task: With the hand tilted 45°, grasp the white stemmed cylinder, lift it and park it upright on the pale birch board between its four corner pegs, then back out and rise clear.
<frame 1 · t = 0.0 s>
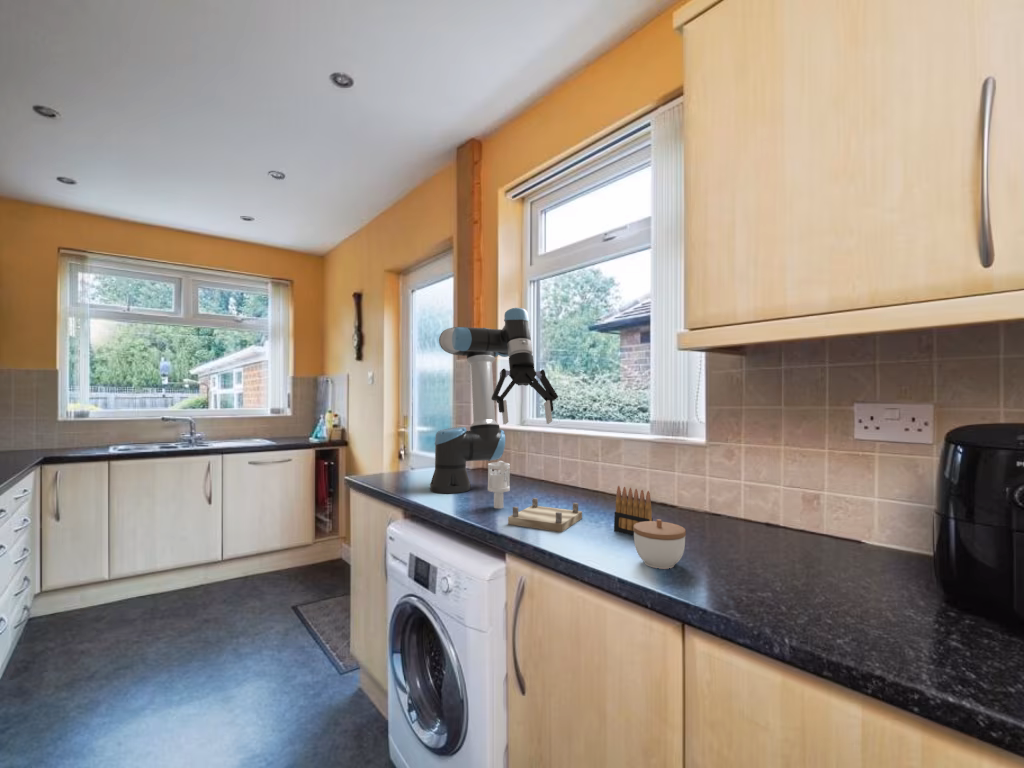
hand: (528, 423, 138), 28 cm above the worktop, tool tilted 20°, fingers open, 13 cm apart
ammunition clip: (633, 535, 122), on the worktop
lidded jar: (659, 564, 101), on the worktop
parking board: (546, 521, 135), on the worktop
white stemmed cylinder: (498, 508, 151), on the worktop
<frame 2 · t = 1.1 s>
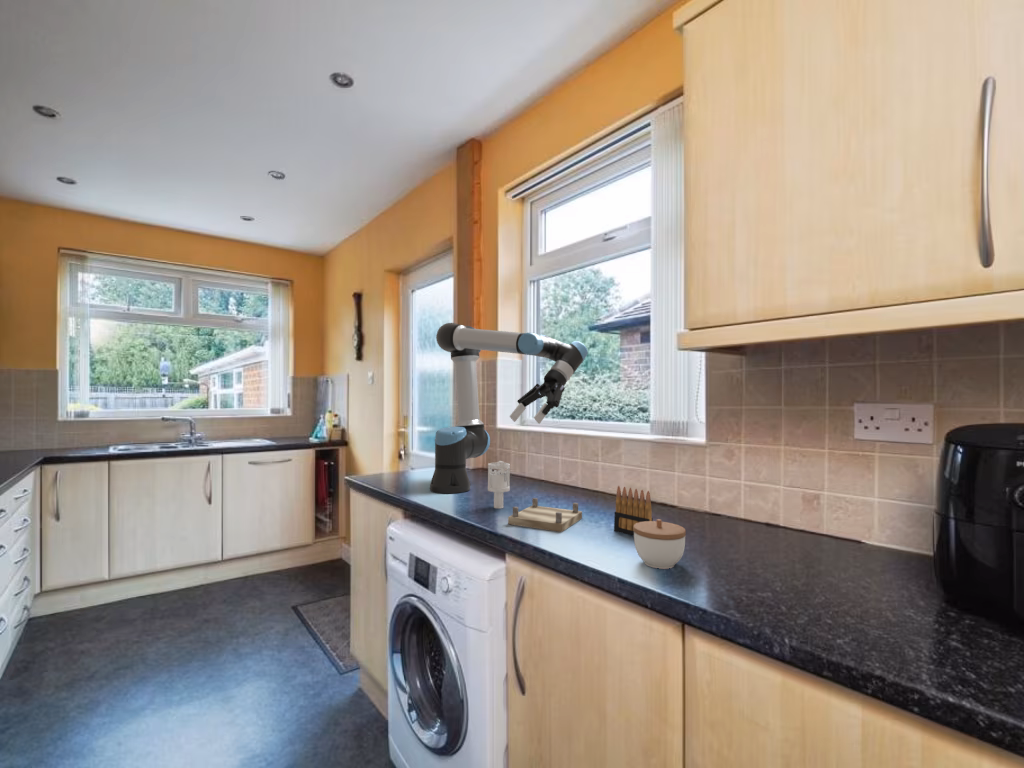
hand: (523, 419, 158), 28 cm above the worktop, tool tilted 45°, fingers open, 13 cm apart
nothing on the worktop moved.
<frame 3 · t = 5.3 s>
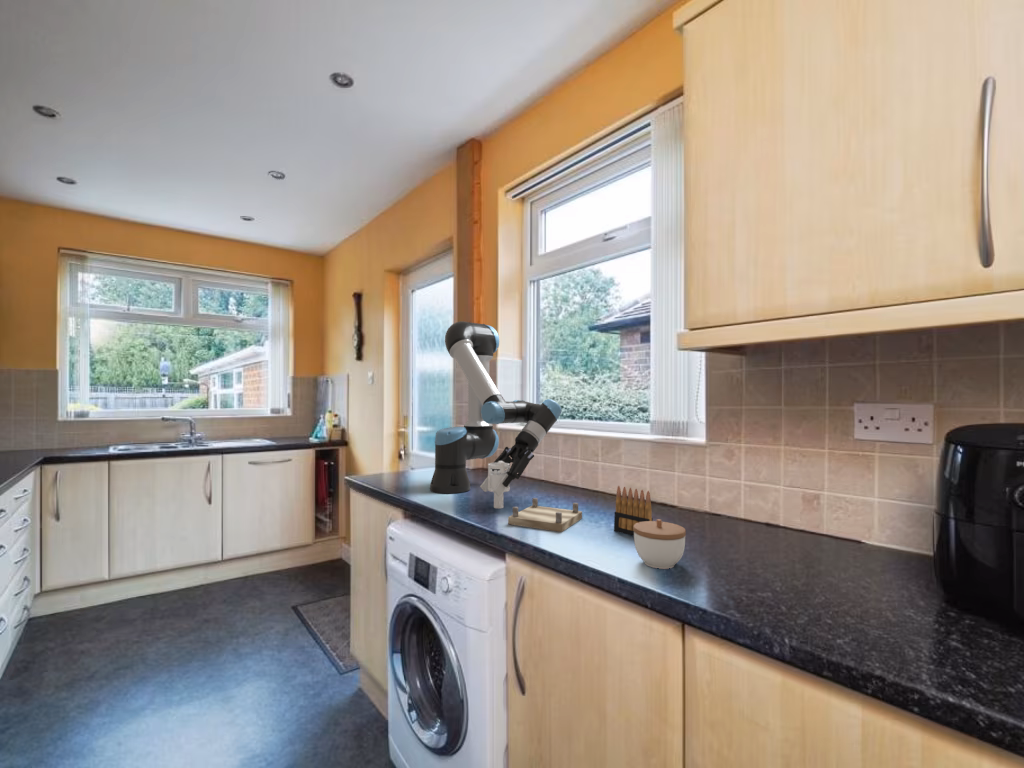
hand: (489, 491, 149), 6 cm above the worktop, tool tilted 45°, fingers closed on white stemmed cylinder, 7 cm apart
white stemmed cylinder: (498, 508, 151), on the worktop, touching gripper
everything else where it was.
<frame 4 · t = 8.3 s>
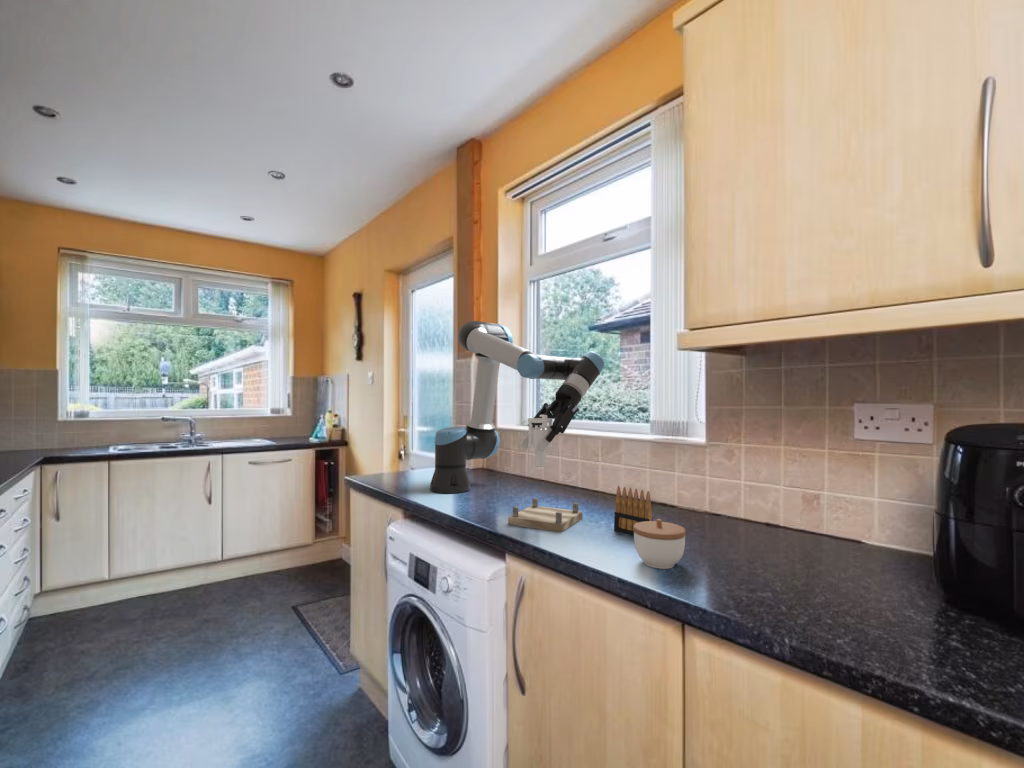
hand: (530, 448, 135), 21 cm above the worktop, tool tilted 45°, fingers closed on white stemmed cylinder, 7 cm apart
white stemmed cylinder: (540, 466, 137), point 15 cm above the worktop, touching gripper
everything else where it was.
when the fingers open (9 cm above the worktop, at t = 11.5 s): white stemmed cylinder drops 1 cm, resting on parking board.
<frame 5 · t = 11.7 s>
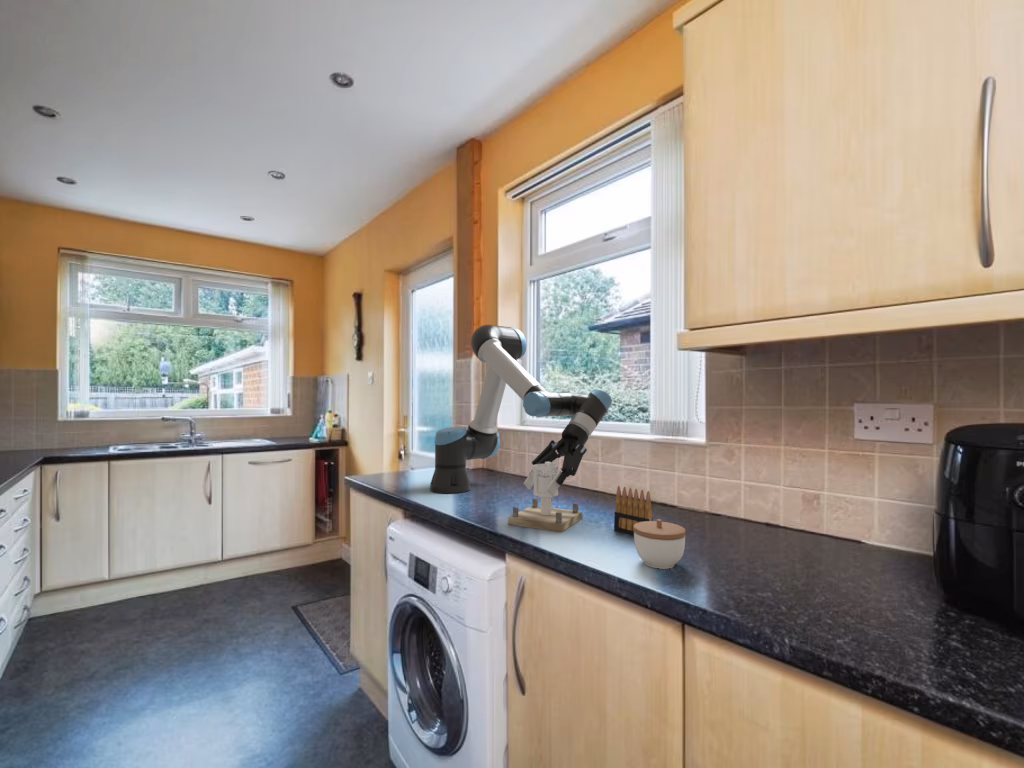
hand: (537, 489, 133), 9 cm above the worktop, tool tilted 45°, fingers open, 9 cm apart
white stemmed cylinder: (546, 514, 135), point 2 cm above the worktop, touching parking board
everything else where it was.
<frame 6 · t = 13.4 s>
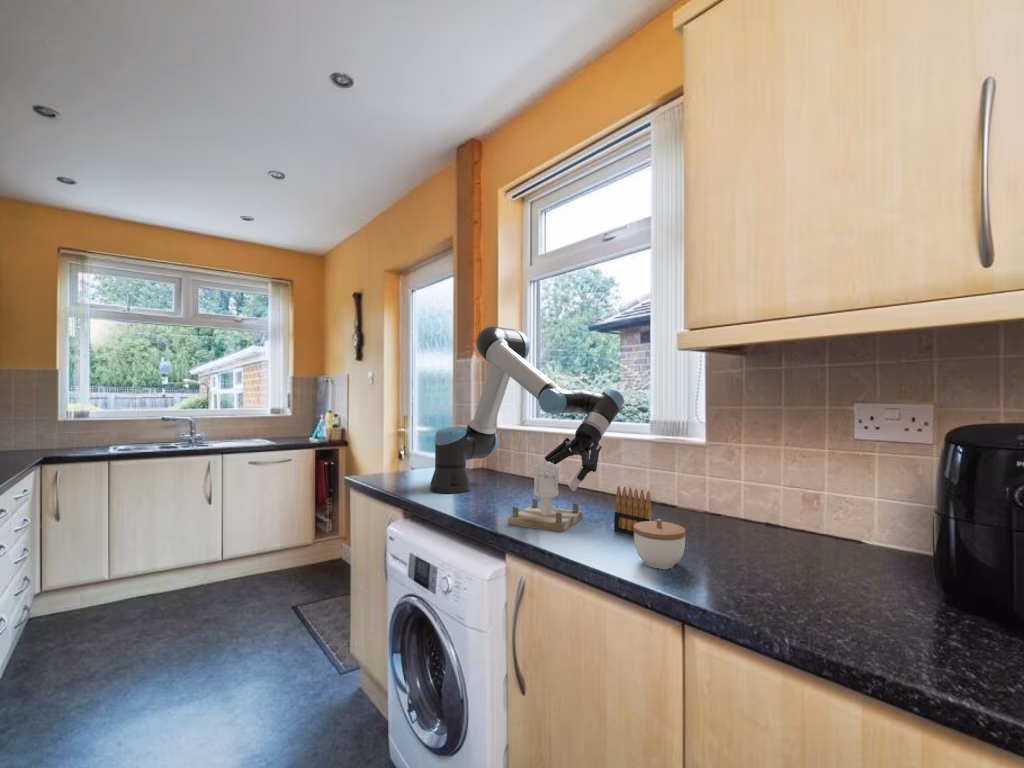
hand: (554, 484, 136), 10 cm above the worktop, tool tilted 45°, fingers open, 13 cm apart
nothing on the worktop moved.
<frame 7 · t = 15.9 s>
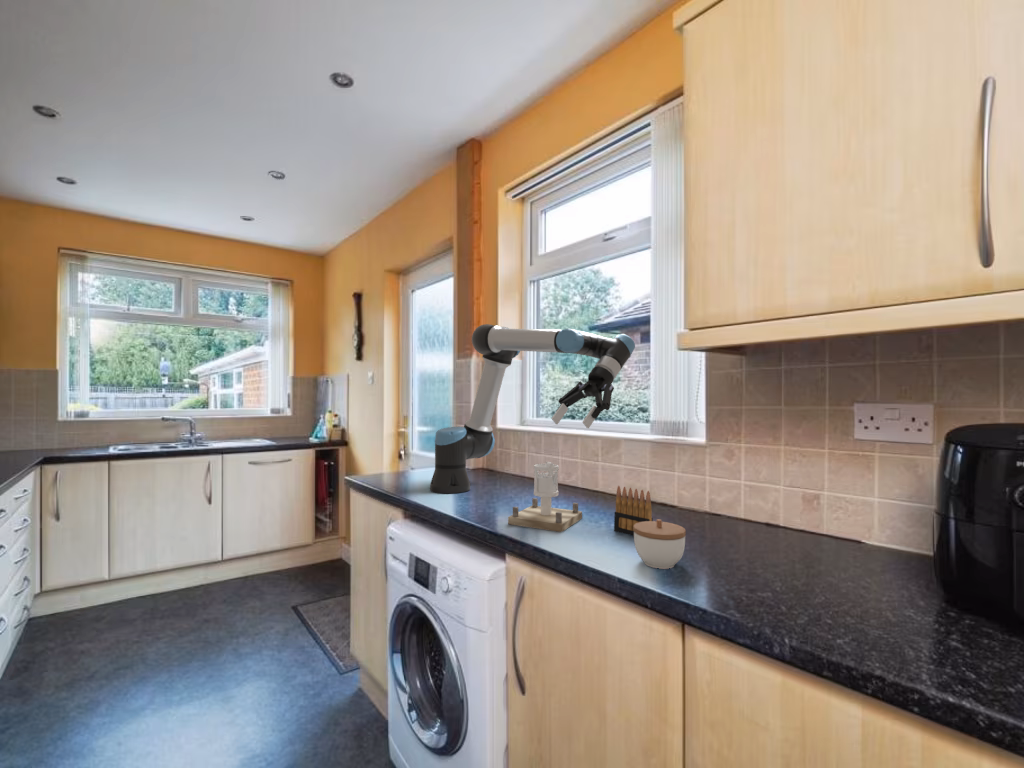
hand: (569, 423, 142), 28 cm above the worktop, tool tilted 45°, fingers open, 13 cm apart
nothing on the worktop moved.
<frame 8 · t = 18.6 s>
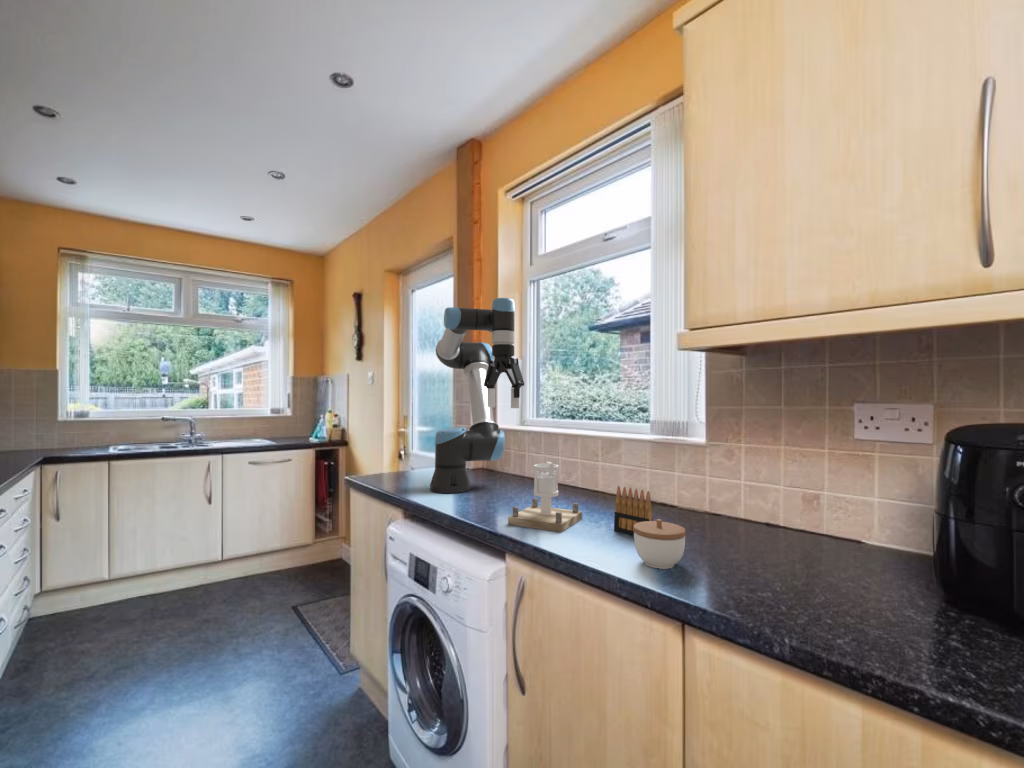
hand: (502, 407, 158), 32 cm above the worktop, tool pointing down, fingers open, 13 cm apart
nothing on the worktop moved.
at the end: white stemmed cylinder inside the target area on the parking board (0.1 cm from its centre), point 1.8 cm above the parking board's base; white stemmed cylinder tilted 0°; white stemmed cylinder touching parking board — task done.
